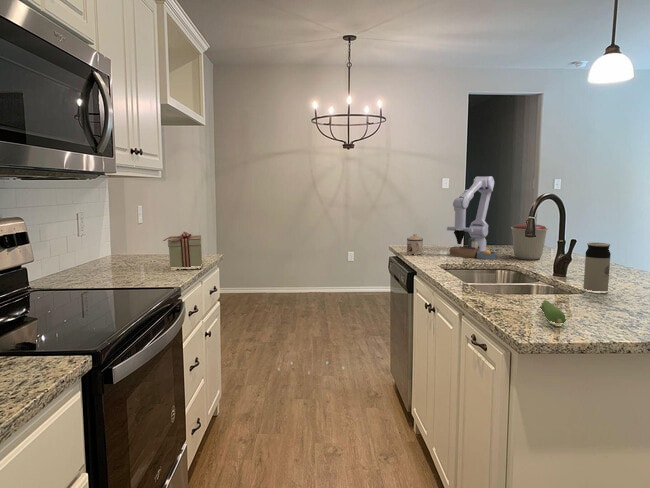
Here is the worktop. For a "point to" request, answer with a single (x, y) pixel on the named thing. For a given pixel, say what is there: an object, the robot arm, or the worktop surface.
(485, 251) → the ball
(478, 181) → the robot arm
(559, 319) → the green elongated piece
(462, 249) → the brown rectangular box
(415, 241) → the teacup with lid
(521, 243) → the white bucket
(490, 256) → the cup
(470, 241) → the plunger
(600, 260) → the travel mug
